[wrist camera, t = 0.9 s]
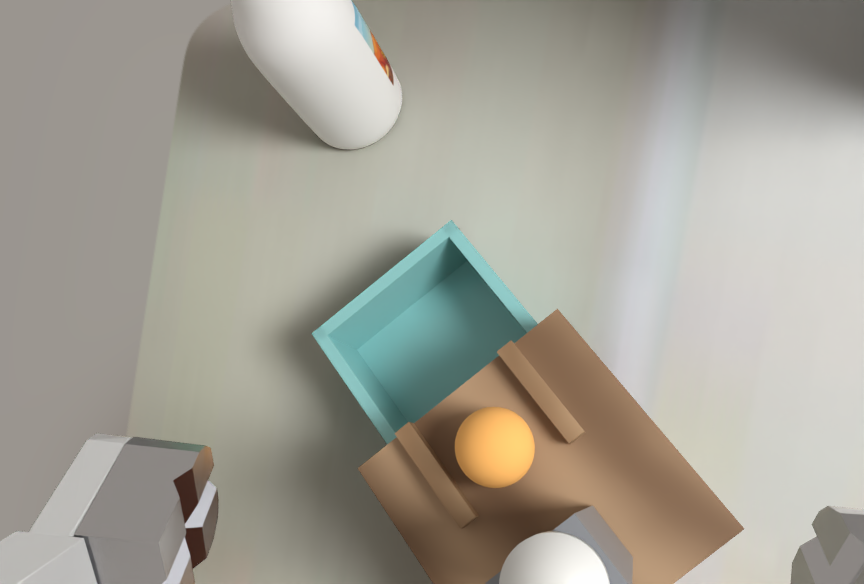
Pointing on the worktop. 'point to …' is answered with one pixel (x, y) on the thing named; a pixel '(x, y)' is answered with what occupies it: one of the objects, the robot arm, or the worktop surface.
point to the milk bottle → (322, 66)
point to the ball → (494, 447)
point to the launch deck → (548, 469)
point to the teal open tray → (422, 330)
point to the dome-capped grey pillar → (570, 555)
